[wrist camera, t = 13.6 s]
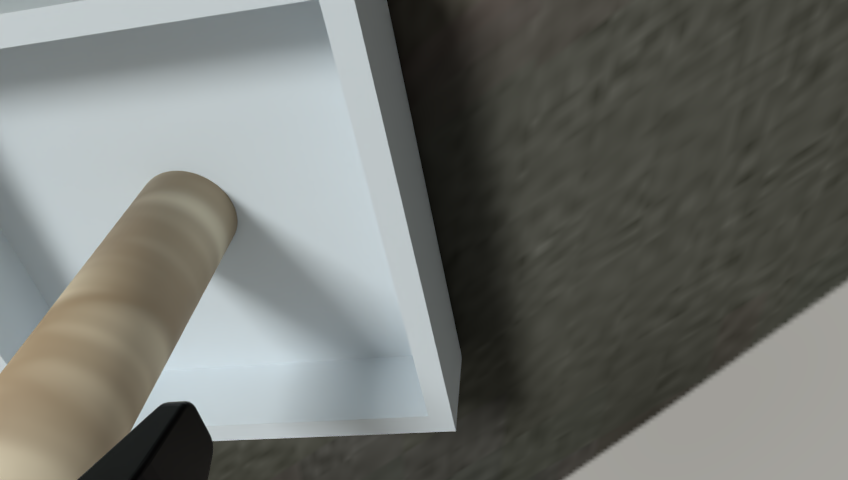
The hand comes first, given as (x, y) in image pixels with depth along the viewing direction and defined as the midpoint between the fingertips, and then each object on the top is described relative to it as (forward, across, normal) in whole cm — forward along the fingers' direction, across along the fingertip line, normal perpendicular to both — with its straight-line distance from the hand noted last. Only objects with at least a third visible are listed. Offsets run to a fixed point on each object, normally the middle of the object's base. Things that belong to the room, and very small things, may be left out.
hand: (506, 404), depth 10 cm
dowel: (+12, +11, +4) cm, 17 cm away
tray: (+13, +11, +4) cm, 17 cm away
